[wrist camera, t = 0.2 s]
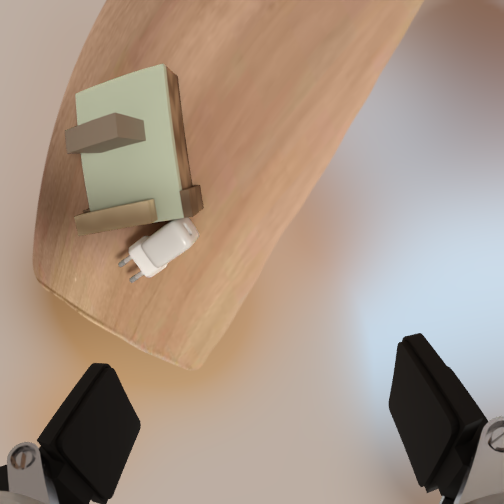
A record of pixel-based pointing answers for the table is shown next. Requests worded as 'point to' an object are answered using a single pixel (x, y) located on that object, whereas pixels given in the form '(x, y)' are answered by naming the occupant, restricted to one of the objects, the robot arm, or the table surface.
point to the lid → (128, 143)
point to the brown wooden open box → (181, 152)
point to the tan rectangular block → (116, 217)
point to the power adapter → (161, 247)
